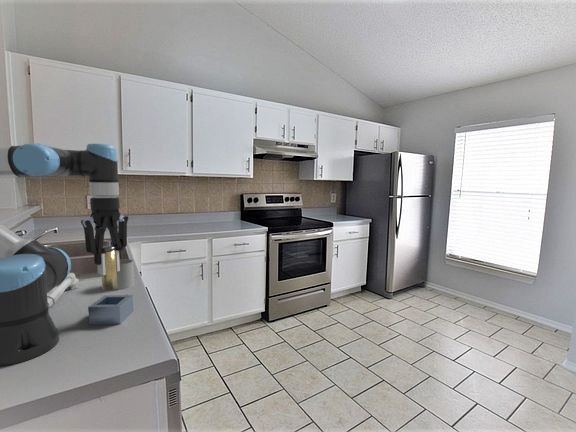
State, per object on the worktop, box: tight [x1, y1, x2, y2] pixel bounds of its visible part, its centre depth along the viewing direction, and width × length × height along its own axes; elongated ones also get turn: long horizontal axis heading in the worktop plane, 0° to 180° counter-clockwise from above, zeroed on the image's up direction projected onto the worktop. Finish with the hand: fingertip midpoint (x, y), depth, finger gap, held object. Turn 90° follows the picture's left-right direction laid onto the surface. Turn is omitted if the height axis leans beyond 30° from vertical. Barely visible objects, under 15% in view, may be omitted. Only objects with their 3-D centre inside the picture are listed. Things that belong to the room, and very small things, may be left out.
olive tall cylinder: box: [101, 244, 117, 291], centre depth 93 cm, size 4×4×13 cm
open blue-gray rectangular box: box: [87, 294, 134, 326], centre depth 95 cm, size 9×9×6 cm
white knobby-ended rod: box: [47, 272, 80, 310], centre depth 111 cm, size 5×7×25 cm
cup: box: [114, 258, 135, 290], centre depth 123 cm, size 8×8×10 cm
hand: (109, 272), depth 94 cm, fingers closed on olive tall cylinder, 4 cm apart
